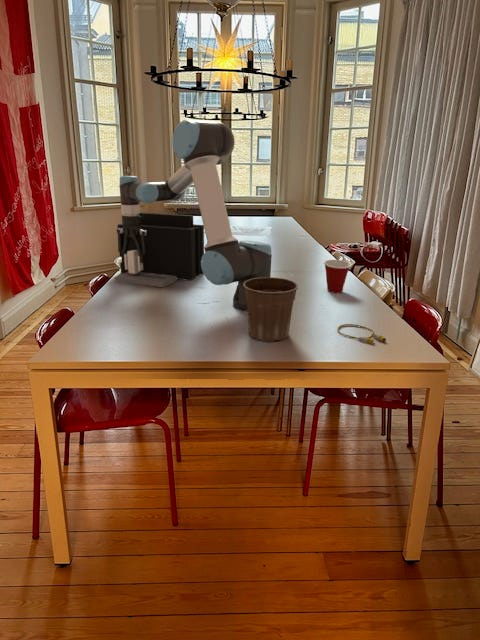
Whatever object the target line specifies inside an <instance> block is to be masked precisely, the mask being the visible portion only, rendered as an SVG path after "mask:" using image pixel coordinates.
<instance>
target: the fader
mask: <svg viewBox="0 0 480 640" xmlns="http://www.w3.org/2000/svg"><path fill="white" fill-rule="evenodd" d="M138 255H139V253H138V250H131V251H127V257H128V272H129V273H128V275H132V276H134V275H137V274H139V273H141V271H138V257H137V256H138Z"/></svg>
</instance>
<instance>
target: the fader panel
mask: <svg viewBox="0 0 480 640" xmlns="http://www.w3.org/2000/svg"><path fill="white" fill-rule="evenodd" d="M128 273H129V272H126V273H120V274H118V275H117V276H114V280H115V282H116V283H123V284H124V283H126V284H131V285H132V284H133V285H141V286H148V285H149V287H156V286H157V287H158V288H164V287H165V288H166V287H167V286H169V285H171V284H173V283H175V282H177V281H176V280H178V279H177V276H172V275H163V274H154V273H145V272H141V273H139V274H137V275H134V276H132V275H128ZM174 281H175V282H174ZM172 282H173V283H172Z"/></svg>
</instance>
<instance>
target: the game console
mask: <svg viewBox="0 0 480 640" xmlns="http://www.w3.org/2000/svg"><path fill="white" fill-rule="evenodd" d="M139 215H140V221H141V224H140V227H141V229H142V230H144V231H145V230H147V246H148V254H145V255H144V263H143V270H141V272H145V273H154V274H163V275H172V276H177V278H178V279H177V280H184V279H187V280H186V281H193V280H195V279H196V278H197V277H198V276H201V275H204V274H203V271H202V268H201V261H202V259H201V258H202V256H203V254H204V253H205V249H204V247H205V229H204V225H203V224H194V214H177V213H176V214H175V213H161V212H143V211H140V214H139ZM122 227H123V224H122V223H119V224H117V229H120V228H122ZM123 234H124V237H125V233H124V232H123ZM139 235H140V241H141V233H140V234H139ZM136 238H137V237H136ZM124 240H125V239H124ZM141 244H142V242H141ZM131 250H137V247H136V243H135V240H134V239H133V238H132V237H131V239H130V243H129V247H128V251H131ZM119 258H121V262H120V263H119V264H120V266H119V267H120V274H124V273H126V272H128V269H127V270H126V269H125V261H123V254H122V253H121V252H119ZM196 276H197V277H196Z"/></svg>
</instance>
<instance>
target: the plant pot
mask: <svg viewBox="0 0 480 640" xmlns="http://www.w3.org/2000/svg"><path fill="white" fill-rule="evenodd" d="M243 286H244V288H245V296H246V299H247V310H246V311H247V320H248V321H247V324H248V335H249V336H251V338H252V339H255V340H257V341H260V340H261V341H260V342H268V343H269V342H270V343H271V342H275V341H279V342H281V341H284V340H285V339H287V338H288V337H289V332H290V326H291V318H292V313H293V312H292V311H293V307H294V301H295V299H296V294H297V290H298V289H299V284H298V283H297V282H295V281H294V280H290V279H287V278H281V277H271V276H270V277H260V278H253V279H249V280H247V281H245V282H244V283H243ZM280 340H281V341H280Z"/></svg>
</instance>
